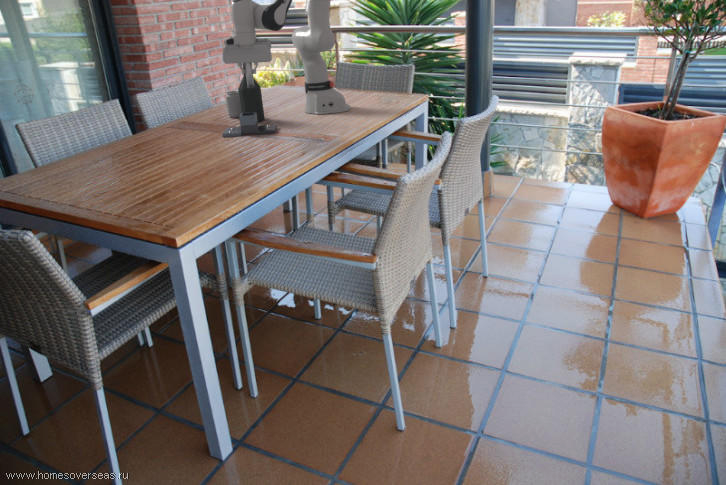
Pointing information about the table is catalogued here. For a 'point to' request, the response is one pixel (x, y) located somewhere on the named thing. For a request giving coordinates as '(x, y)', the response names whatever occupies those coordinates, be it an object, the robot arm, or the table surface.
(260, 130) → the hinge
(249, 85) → the pin
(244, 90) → the bottle
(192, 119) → the table surface
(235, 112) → the can
